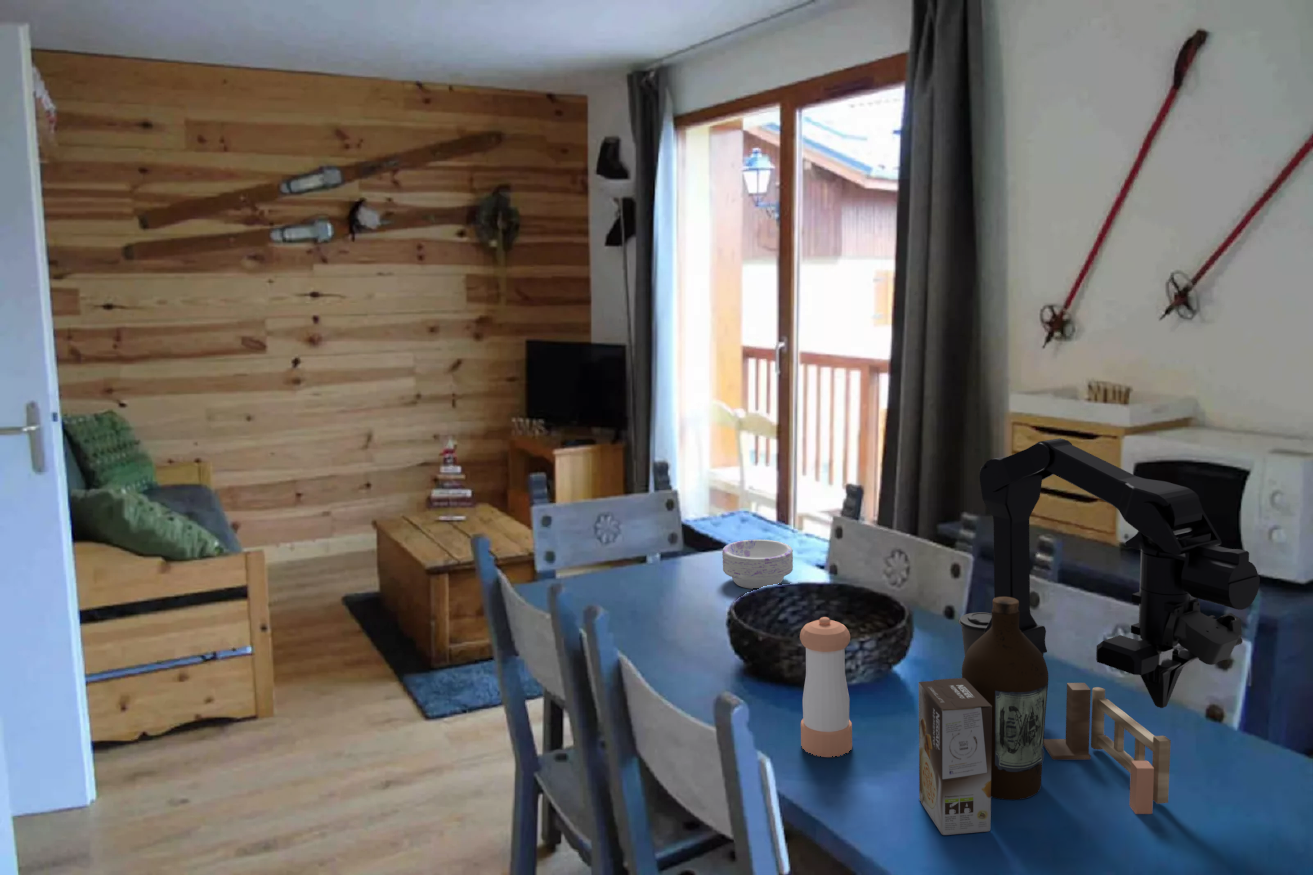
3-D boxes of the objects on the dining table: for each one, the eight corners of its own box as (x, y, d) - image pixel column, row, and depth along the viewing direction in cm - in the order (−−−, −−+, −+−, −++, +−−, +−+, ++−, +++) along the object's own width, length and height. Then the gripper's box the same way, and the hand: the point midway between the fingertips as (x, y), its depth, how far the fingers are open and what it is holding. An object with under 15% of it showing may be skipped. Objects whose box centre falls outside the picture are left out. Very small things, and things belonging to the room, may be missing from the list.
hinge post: (1052, 759, 142) (1054, 694, 141) (1042, 743, 147) (1043, 679, 146) (1091, 759, 142) (1093, 693, 140) (1080, 742, 147) (1081, 679, 145)
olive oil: (946, 770, 141) (947, 592, 137) (1016, 759, 143) (1019, 583, 139) (988, 808, 130) (990, 618, 126) (1063, 796, 133) (1067, 608, 129)
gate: (1088, 744, 145) (1090, 687, 144) (1099, 744, 145) (1101, 686, 144) (1156, 805, 128) (1159, 741, 127) (1168, 804, 129) (1171, 740, 127)
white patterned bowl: (783, 596, 217) (783, 559, 216) (714, 591, 222) (713, 555, 221) (800, 575, 231) (800, 540, 230) (734, 571, 236) (733, 537, 235)
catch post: (1135, 814, 128) (1137, 768, 127) (1129, 805, 130) (1131, 760, 129) (1152, 814, 128) (1154, 768, 127) (1145, 805, 130) (1147, 760, 129)
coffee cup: (955, 680, 170) (955, 621, 169) (960, 662, 178) (960, 606, 176) (1007, 685, 167) (1008, 626, 166) (1010, 667, 175) (1011, 610, 173)
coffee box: (993, 832, 125) (994, 706, 123) (941, 836, 125) (942, 710, 122) (964, 794, 134) (965, 676, 132) (916, 798, 134) (916, 680, 131)
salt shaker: (855, 737, 151) (854, 611, 148) (848, 760, 145) (846, 628, 142) (806, 732, 154) (803, 607, 151) (796, 754, 147) (793, 624, 144)
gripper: (1180, 620, 118) (1175, 749, 120) (1272, 589, 127) (1266, 709, 130) (1094, 596, 127) (1091, 716, 130) (1186, 569, 137) (1182, 681, 139)
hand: (1160, 706), depth 132 cm, fingers closed
